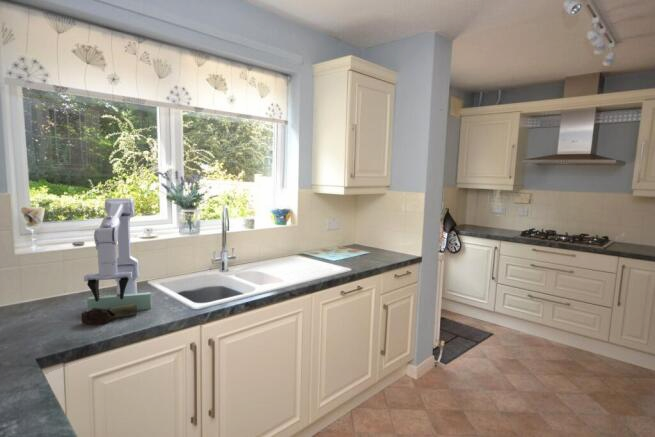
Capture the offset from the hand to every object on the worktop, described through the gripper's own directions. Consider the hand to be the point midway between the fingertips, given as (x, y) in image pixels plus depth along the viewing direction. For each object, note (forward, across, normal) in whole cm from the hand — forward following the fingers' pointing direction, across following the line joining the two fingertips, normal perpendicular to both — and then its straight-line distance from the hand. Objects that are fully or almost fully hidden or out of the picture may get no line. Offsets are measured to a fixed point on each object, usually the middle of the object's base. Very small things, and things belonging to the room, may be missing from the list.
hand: (109, 299), depth 133 cm
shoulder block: (+9, 0, +16) cm, 18 cm away
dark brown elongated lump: (+10, -2, +6) cm, 12 cm away
